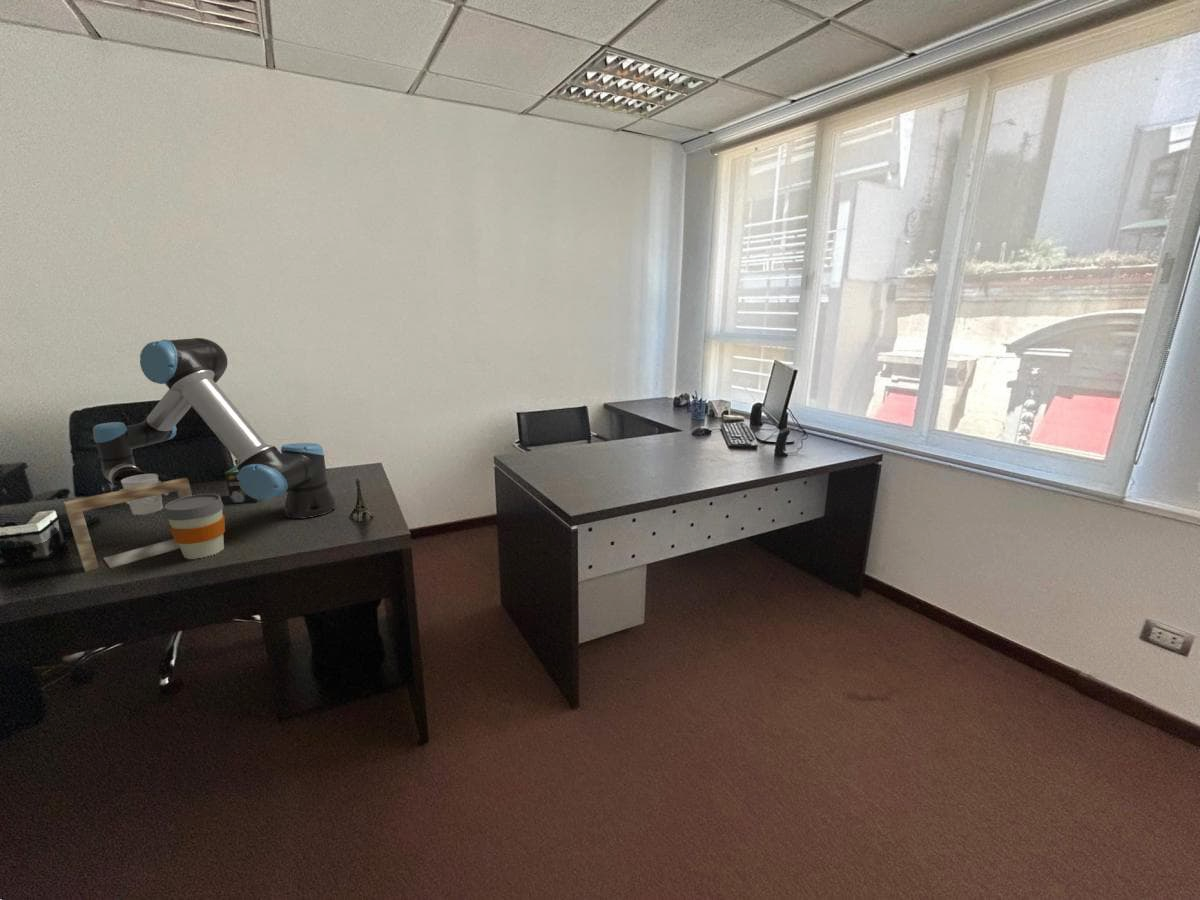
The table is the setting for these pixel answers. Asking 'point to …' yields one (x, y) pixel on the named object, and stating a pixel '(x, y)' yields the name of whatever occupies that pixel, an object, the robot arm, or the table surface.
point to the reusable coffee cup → (197, 524)
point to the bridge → (83, 504)
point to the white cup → (143, 504)
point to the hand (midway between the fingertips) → (147, 494)
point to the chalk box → (236, 487)
